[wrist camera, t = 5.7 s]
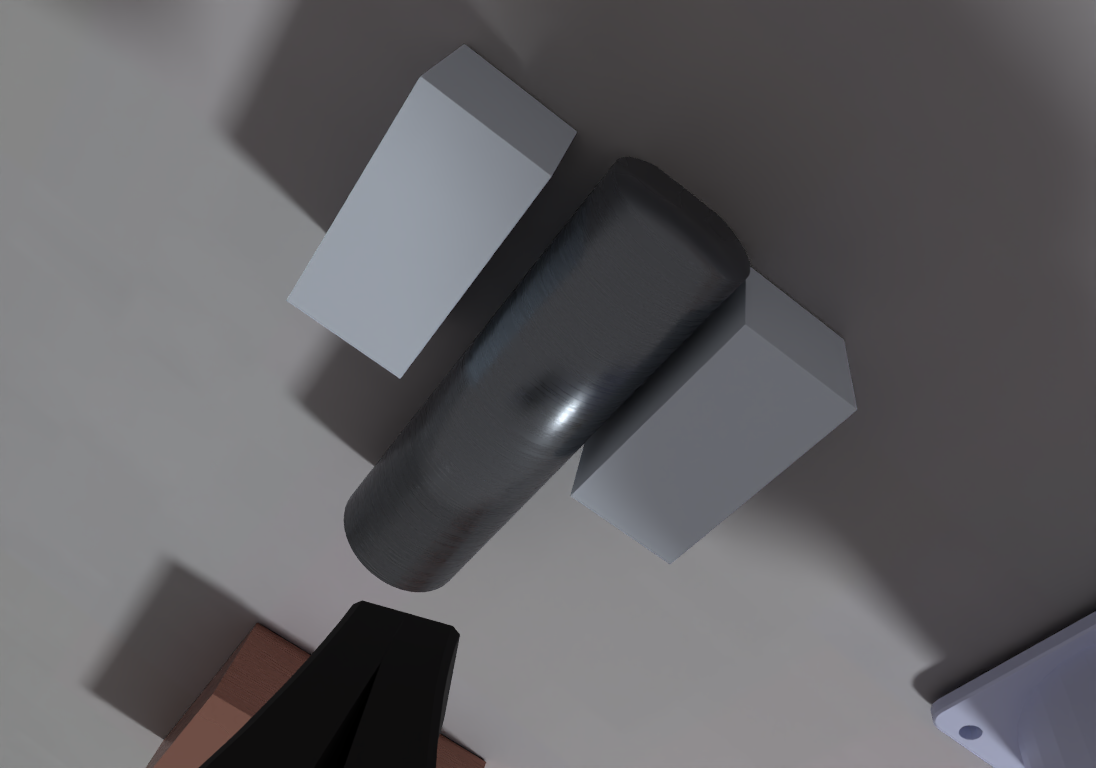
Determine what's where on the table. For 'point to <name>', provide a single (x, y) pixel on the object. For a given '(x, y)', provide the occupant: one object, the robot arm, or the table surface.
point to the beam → (473, 237)
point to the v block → (252, 704)
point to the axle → (545, 373)
